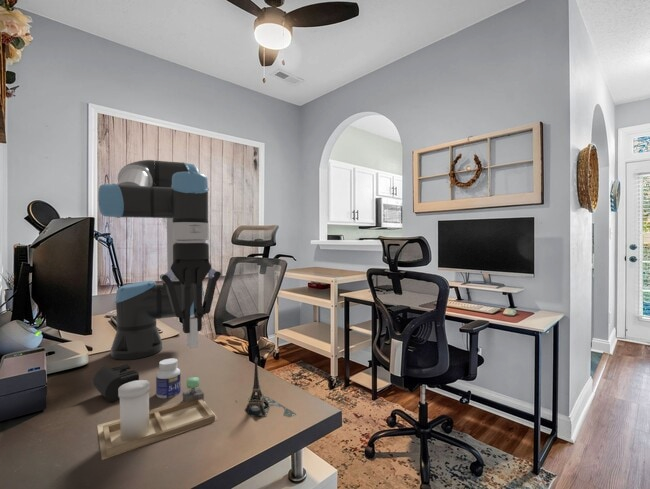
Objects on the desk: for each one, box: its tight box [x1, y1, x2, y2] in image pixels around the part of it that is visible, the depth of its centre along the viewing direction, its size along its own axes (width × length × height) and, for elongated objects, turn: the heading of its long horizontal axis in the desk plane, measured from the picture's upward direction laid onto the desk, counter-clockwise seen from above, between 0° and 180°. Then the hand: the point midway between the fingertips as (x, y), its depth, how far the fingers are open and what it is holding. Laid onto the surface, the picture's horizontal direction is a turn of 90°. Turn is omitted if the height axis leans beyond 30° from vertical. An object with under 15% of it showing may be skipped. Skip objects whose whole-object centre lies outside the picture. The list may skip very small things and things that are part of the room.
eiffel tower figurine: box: [234, 356, 297, 418], centre depth 74 cm, size 15×10×13 cm
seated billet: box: [118, 379, 151, 442], centre depth 63 cm, size 5×5×9 cm
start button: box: [186, 376, 200, 394], centre depth 76 cm, size 3×3×4 cm
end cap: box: [92, 364, 140, 404], centre depth 80 cm, size 10×7×7 cm
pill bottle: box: [155, 358, 182, 399], centre depth 80 cm, size 5×5×9 cm
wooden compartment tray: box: [96, 387, 220, 461], centre depth 67 cm, size 13×20×3 cm, turn 127°
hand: (192, 346), depth 75 cm, fingers closed
